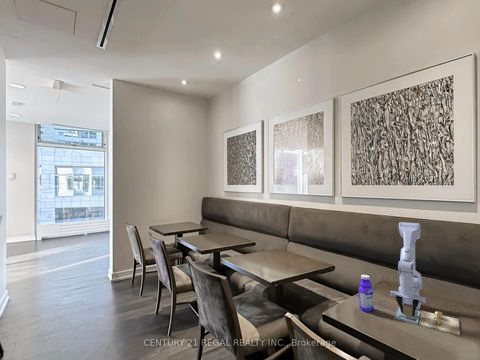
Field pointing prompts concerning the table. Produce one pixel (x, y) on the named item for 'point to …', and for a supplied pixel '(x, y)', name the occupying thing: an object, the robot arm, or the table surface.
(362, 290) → the bottle
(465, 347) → the table surface
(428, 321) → the board
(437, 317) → the bosses
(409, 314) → the panel
